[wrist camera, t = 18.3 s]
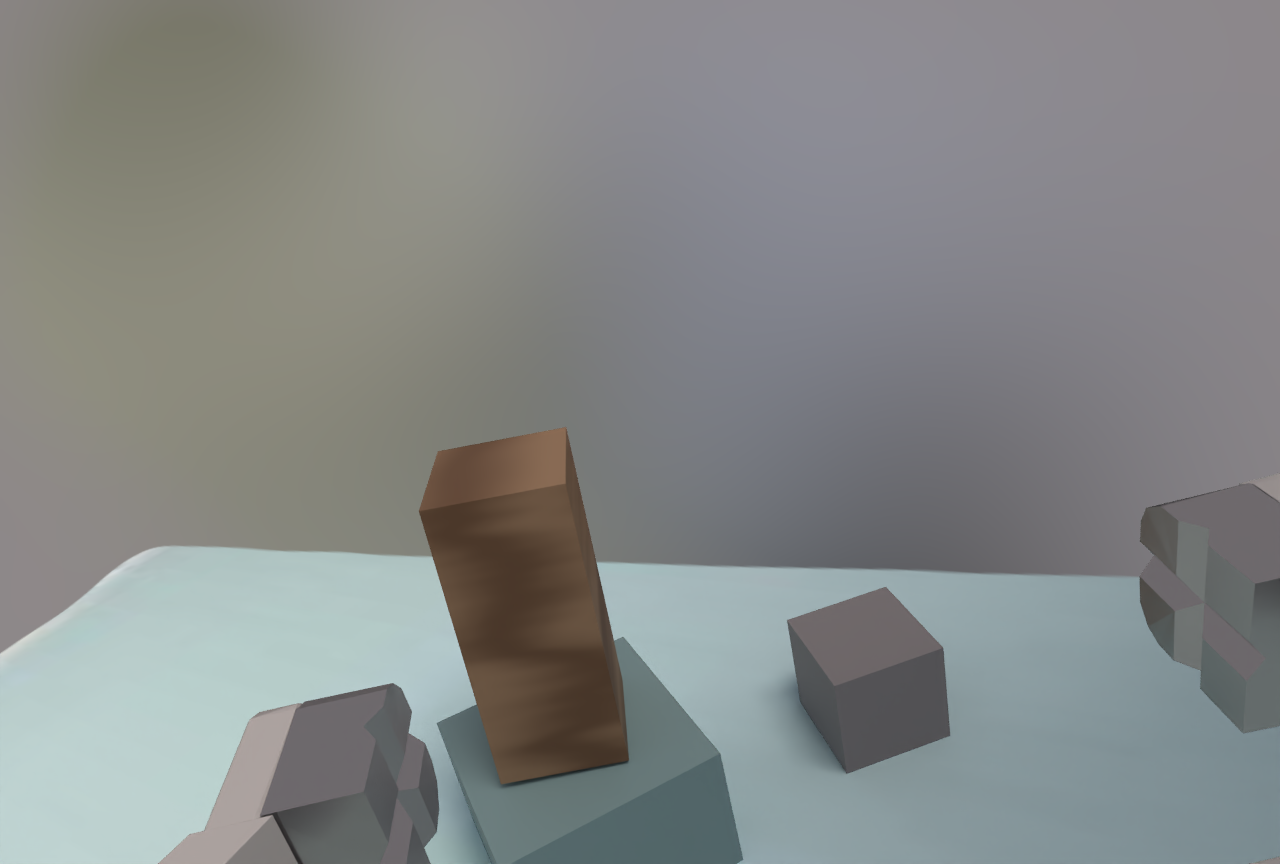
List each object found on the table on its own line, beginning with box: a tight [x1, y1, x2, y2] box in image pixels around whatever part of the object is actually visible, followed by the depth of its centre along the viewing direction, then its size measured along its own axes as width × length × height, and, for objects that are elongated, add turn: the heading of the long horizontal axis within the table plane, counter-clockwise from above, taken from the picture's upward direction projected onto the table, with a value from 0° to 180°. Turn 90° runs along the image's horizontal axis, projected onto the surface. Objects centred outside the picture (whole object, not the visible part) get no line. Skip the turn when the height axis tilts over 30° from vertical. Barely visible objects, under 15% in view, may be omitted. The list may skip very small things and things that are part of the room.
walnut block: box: [419, 428, 629, 784], centre depth 37 cm, size 5×5×12 cm
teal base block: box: [437, 637, 743, 864], centre depth 40 cm, size 9×9×6 cm
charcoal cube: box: [787, 587, 950, 773], centre depth 43 cm, size 5×5×5 cm
